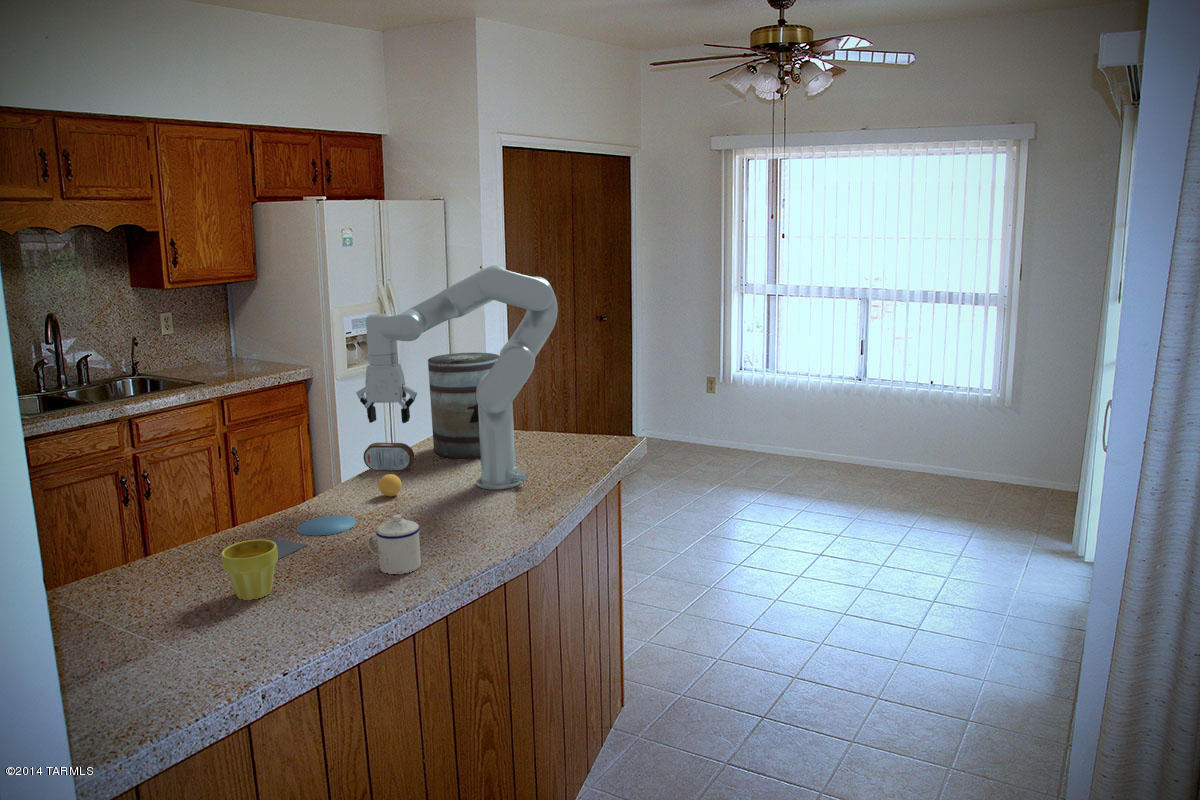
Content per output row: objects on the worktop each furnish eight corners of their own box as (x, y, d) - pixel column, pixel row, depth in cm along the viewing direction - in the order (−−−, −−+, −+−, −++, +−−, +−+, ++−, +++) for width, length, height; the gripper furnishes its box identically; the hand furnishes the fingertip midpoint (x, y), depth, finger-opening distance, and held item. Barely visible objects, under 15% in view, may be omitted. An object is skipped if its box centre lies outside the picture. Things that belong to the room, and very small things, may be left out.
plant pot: (248, 609, 171) (243, 561, 169) (215, 598, 177) (209, 552, 174) (292, 589, 180) (287, 544, 178) (259, 579, 185) (254, 535, 183)
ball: (406, 493, 240) (405, 472, 239) (393, 500, 235) (391, 478, 234) (388, 491, 243) (387, 470, 242) (374, 497, 237) (373, 476, 236)
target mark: (368, 520, 220) (368, 519, 220) (329, 539, 208) (329, 538, 208) (324, 513, 226) (324, 512, 226) (284, 531, 213) (284, 530, 213)
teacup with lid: (429, 561, 193) (426, 510, 190) (409, 577, 184) (405, 524, 182) (380, 556, 196) (376, 506, 194) (358, 572, 188) (354, 520, 185)
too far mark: (308, 545, 204) (307, 544, 204) (275, 560, 195) (275, 560, 195) (275, 539, 208) (275, 538, 208) (242, 554, 199) (242, 553, 199)
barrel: (508, 455, 276) (504, 361, 270) (436, 462, 271) (429, 366, 264) (499, 438, 297) (495, 350, 291) (432, 444, 292) (426, 355, 286)
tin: (415, 469, 264) (413, 442, 262) (412, 472, 261) (410, 444, 259) (367, 469, 266) (364, 442, 264) (363, 472, 262) (361, 444, 261)
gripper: (347, 362, 235) (353, 424, 239) (407, 362, 232) (413, 425, 235) (360, 357, 242) (366, 418, 246) (419, 357, 239) (424, 419, 242)
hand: (389, 421), depth 241 cm, fingers open, 9 cm apart
